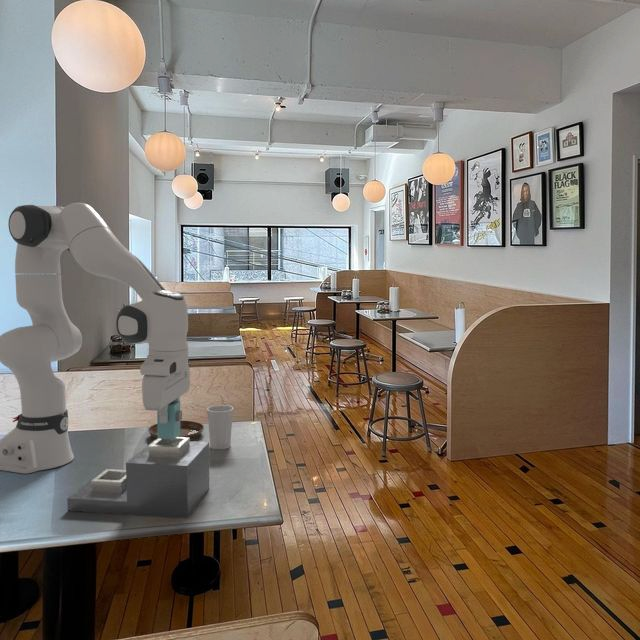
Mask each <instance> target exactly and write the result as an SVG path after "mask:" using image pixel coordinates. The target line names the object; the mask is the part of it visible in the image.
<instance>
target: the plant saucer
mask: <svg viewBox="0 0 640 640" xmlns="http://www.w3.org/2000/svg"><path fill="white" fill-rule="evenodd" d="M204 429H205V426H204V424H202V423H200V422H197V421H193V420H180V435H179V436H177V437H190V441H192V440H191V439H193V440H195V439H197V438H198V437H199V436H200V435H201V434H202V432H203V430H204ZM191 430H192V431H193V430H196V431H198V432H197V433H194V434H190V435H188V433H189V432H192V431H191ZM147 431H148V433H149V435H150V436H151V437H152V438H153V439H154V440H157V439H158V438H157V423H155V424H153V425H150V427H148V430H147ZM196 437H197V438H196ZM194 438H195V439H194Z"/></svg>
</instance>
